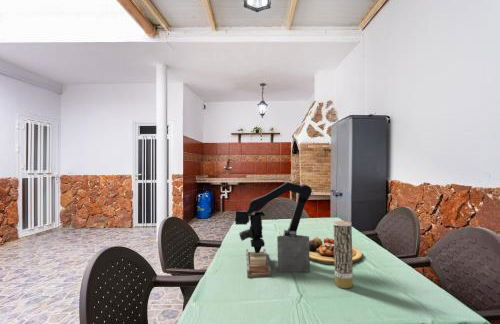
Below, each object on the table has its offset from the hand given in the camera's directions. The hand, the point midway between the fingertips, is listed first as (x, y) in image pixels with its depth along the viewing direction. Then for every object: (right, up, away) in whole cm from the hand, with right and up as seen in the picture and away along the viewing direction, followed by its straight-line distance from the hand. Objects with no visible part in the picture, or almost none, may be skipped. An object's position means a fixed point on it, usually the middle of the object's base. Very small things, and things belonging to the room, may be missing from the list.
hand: (256, 255), depth 136 cm
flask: (+17, -3, -11) cm, 20 cm away
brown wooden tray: (0, -4, -2) cm, 4 cm away
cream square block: (0, -2, -7) cm, 8 cm away
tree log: (+34, -3, -26) cm, 43 cm away
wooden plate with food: (+40, -3, +10) cm, 41 cm away
